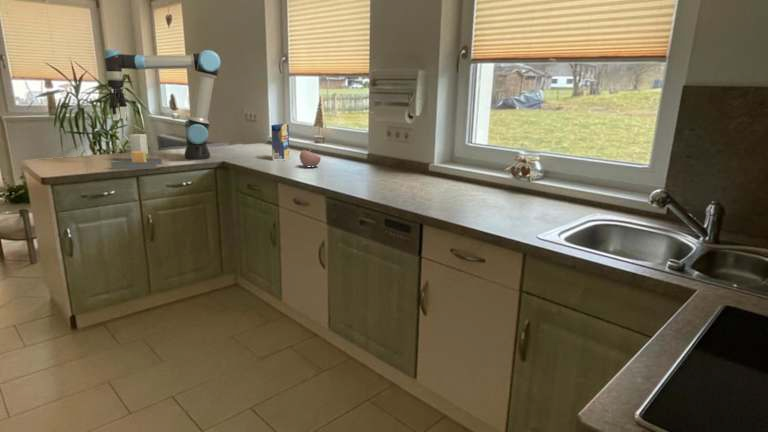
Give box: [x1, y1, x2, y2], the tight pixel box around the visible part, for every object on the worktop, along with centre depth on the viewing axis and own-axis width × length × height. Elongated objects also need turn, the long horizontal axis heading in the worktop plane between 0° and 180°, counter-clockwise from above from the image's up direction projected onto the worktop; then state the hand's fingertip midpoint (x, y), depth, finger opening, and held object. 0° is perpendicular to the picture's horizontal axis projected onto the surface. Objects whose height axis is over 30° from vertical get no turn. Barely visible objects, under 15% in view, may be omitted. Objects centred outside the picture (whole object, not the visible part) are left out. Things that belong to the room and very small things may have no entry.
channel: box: [110, 157, 163, 170], centre depth 264 cm, size 22×15×3 cm
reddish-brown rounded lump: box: [299, 147, 321, 168], centre depth 279 cm, size 12×12×12 cm
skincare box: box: [128, 133, 149, 158], centre depth 280 cm, size 8×7×16 cm
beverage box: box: [270, 123, 290, 159], centre depth 302 cm, size 7×11×22 cm, turn 169°
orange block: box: [130, 151, 147, 162], centre depth 264 cm, size 6×6×8 cm
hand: (120, 119), depth 267 cm, fingers open, 13 cm apart
